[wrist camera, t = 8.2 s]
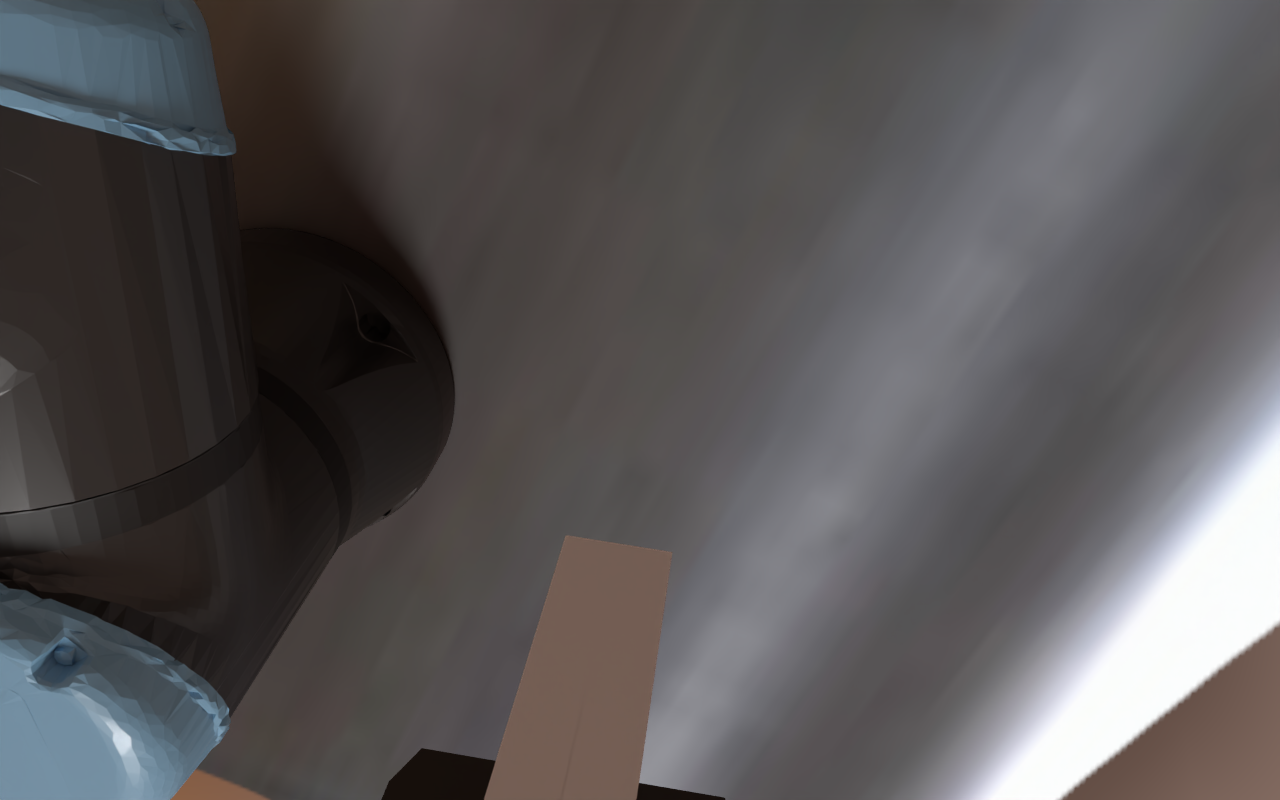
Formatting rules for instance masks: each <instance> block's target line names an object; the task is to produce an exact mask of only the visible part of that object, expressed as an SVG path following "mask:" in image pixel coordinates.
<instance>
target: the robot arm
mask: <svg viewBox="0 0 1280 800" xmlns="http://www.w3.org/2000/svg"><path fill="white" fill-rule="evenodd" d="M235 153H236V142H235V138H234V134H233V133H232V132H231V131H230V130H229V129H228V128H227V127H226V121H225V116H224V111H223V106H222V101H221V96H220V91H219V86H218V81H217V76H216V71H215V65H214V59H213V53H212V47H211V42H210V36H209V31H208V28H207V25H206V22H205V20H204V18H203V15H202V13H201V11H200V10H199V8H198V6H197V5H196V3H195V2H194V0H0V800H170V799H171V798H172V797H173V796H174V795H175V793H176V792H177V791H178V790H179V789H180V787H181V786H182V785H183V784H184V783H185V781H186V780H187V779H188V778H189V776H190V775H191V774H192V773H193V772H194V770H195V769H196V768H197V767H198V765H199V764H200V763H201V762H202V761H203V759H204V758H205V757H206V756H207V754H208V753H209V752H210V751H211V750H212V748H213V747H215V746H216V745H217V744H218V743H220V742H221V740H222V738H223V736H224V735H225V733H226V732H227V731H228V729H229V726H228V725H229V724H230V723H231V720H230V717H231V716H232V714H233V713H234V711H235V710H236V708H237V706H238V705H239V703H240V702H241V700H242V699H243V697H244V695H245V694H246V692H247V691H248V689H249V687H250V686H251V684H252V683H253V681H254V680H255V678H256V676H257V675H258V673H259V672H260V670H261V669H262V667H263V665H264V664H265V662H266V661H267V659H268V658H269V656H270V654H271V653H272V651H273V650H274V648H275V646H276V645H277V643H278V642H279V640H280V639H281V637H282V635H283V634H284V632H285V631H286V629H287V628H288V626H289V624H290V623H291V621H292V620H293V618H294V617H295V615H296V613H297V612H298V610H299V609H300V607H301V605H302V604H303V602H304V601H305V599H306V598H307V596H308V594H309V593H310V591H311V590H312V588H313V587H314V585H315V583H316V582H317V580H318V579H319V577H320V576H321V574H322V572H323V571H324V569H325V568H326V566H327V564H328V563H329V561H330V559H331V558H332V556H333V555H334V553H335V552H336V550H337V549H338V547H339V546H340V545H342V544H343V543H344V542H346V541H347V540H349V539H350V538H352V537H353V536H354V535H356V534H357V533H359V532H360V531H362V530H363V529H365V528H366V527H368V526H370V525H373V524H375V523H377V522H379V521H381V520H382V519H384V518H386V517H387V516H389V515H391V514H392V513H394V512H395V511H397V510H398V509H399V508H401V507H402V506H403V505H404V504H405V503H406V502H407V501H408V500H409V499H410V498H411V497H412V496H413V495H414V494H415V493H416V492H417V491H418V490H419V489H420V487H421V486H422V485H423V483H424V482H425V480H426V479H427V477H428V476H429V474H430V472H431V471H432V469H433V467H434V465H435V464H436V462H437V460H438V458H439V457H440V455H441V453H442V451H443V449H444V447H445V445H446V442H447V440H448V437H449V434H450V430H451V426H452V421H453V414H454V387H453V380H452V374H451V370H450V366H449V362H448V359H447V356H446V353H445V350H444V348H443V346H442V343H441V341H440V339H439V337H438V335H437V333H436V331H435V329H434V327H433V326H432V324H431V322H430V321H429V319H428V318H427V316H426V315H425V313H424V312H423V310H422V309H421V308H420V306H419V305H418V304H417V303H416V301H415V300H414V299H413V298H412V297H411V296H410V294H409V293H408V292H407V291H406V290H405V289H404V288H403V287H402V286H401V285H400V284H399V283H398V282H397V281H396V280H395V279H393V278H392V277H391V276H390V275H389V274H388V273H386V272H385V271H384V270H382V269H381V268H380V267H378V266H377V265H376V264H374V263H373V262H371V261H370V260H368V259H367V258H365V257H364V256H362V255H360V254H358V253H357V252H355V251H353V250H351V249H349V248H347V247H345V246H343V245H341V244H338V243H336V242H333V241H331V240H328V239H325V238H322V237H319V236H316V235H312V234H308V233H304V232H299V231H294V230H286V229H274V228H261V229H249V230H242V231H240V230H239V221H238V212H237V203H236V193H235V184H234V175H233V166H232V157H231V155H232V154H235ZM671 558H672V552H667V551H661V550H655V549H649V548H642V547H636V546H630V545H624V544H617V543H611V542H605V541H598V540H592V539H586V538H580V537H573V536H567V535H566V536H565V539H564V543H563V546H562V549H561V552H560V556H559V559H558V562H557V565H556V569H555V572H554V575H553V578H552V581H551V585H550V588H549V591H548V594H547V598H546V601H545V604H544V607H543V610H542V614H541V617H540V620H539V623H538V627H537V630H536V633H535V636H534V639H533V643H532V646H531V649H530V652H529V656H528V659H527V662H526V665H525V668H524V672H523V675H522V678H521V681H520V685H519V688H518V691H517V694H516V698H515V701H514V704H513V707H512V710H511V714H510V717H509V720H508V723H507V727H506V730H505V733H504V736H503V739H502V743H501V746H500V749H499V752H498V756H497V759H496V761H493V760H487V759H481V758H476V757H470V756H464V755H458V754H452V753H447V752H441V751H435V750H429V749H423V748H422V749H421V750H420V751H419V752H418V753H417V754H416V755H415V756H414V757H413V758H412V759H411V760H410V761H409V762H408V763H407V764H406V765H405V766H404V767H403V768H402V769H401V770H400V771H399V772H398V773H397V774H396V775H395V776H394V777H393V778H392V779H391V780H390V781H389V783H388V785H387V788H386V790H385V792H384V795H383V797H382V800H725V798H723V797H717V796H711V795H706V794H700V793H694V792H688V791H682V790H677V789H671V788H665V787H659V786H653V785H647V784H642V783H639V778H640V771H641V764H642V758H643V751H644V744H645V737H646V730H647V723H648V716H649V709H650V702H651V695H652V689H653V682H654V675H655V668H656V661H657V654H658V647H659V640H660V633H661V627H662V620H663V613H664V606H665V599H666V592H667V585H668V578H669V571H670V564H671Z"/></svg>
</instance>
